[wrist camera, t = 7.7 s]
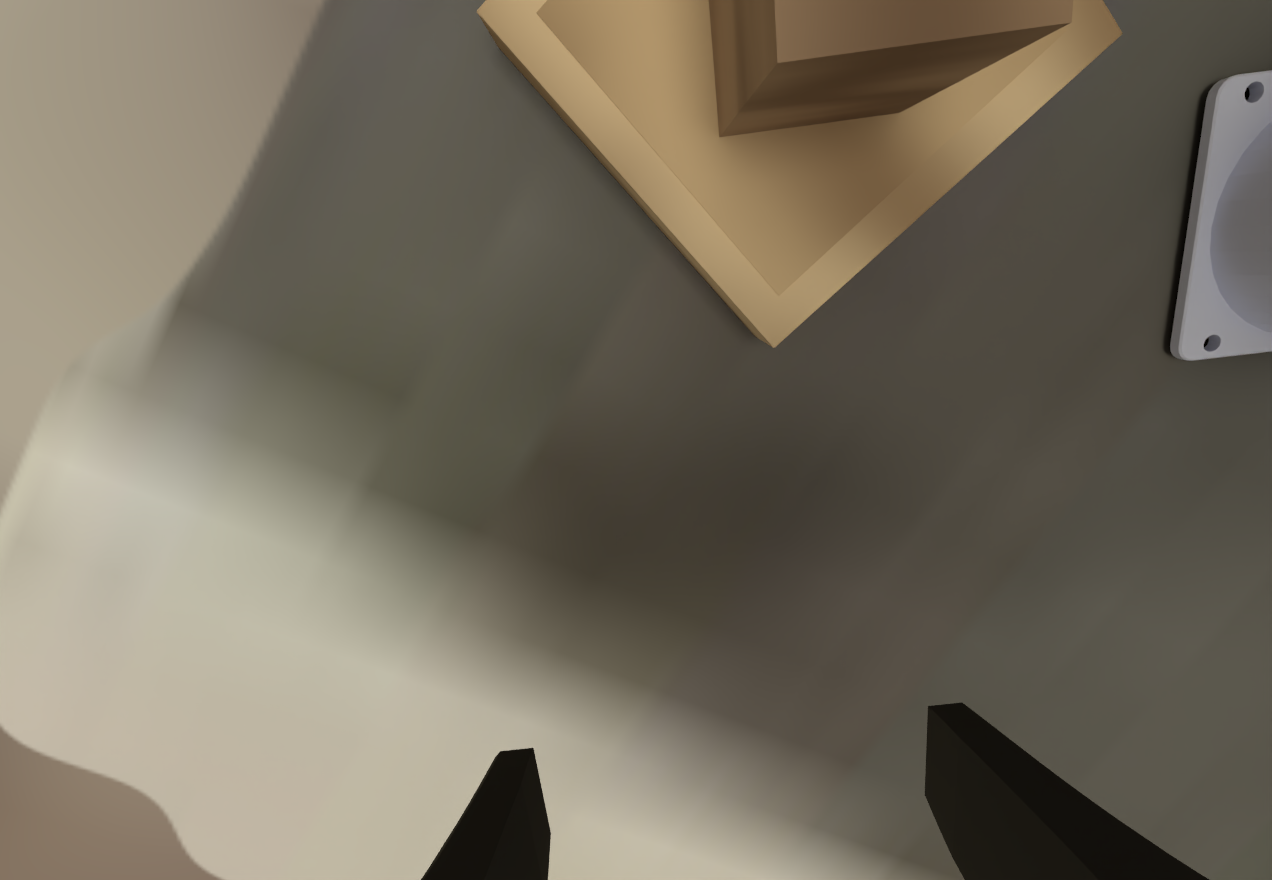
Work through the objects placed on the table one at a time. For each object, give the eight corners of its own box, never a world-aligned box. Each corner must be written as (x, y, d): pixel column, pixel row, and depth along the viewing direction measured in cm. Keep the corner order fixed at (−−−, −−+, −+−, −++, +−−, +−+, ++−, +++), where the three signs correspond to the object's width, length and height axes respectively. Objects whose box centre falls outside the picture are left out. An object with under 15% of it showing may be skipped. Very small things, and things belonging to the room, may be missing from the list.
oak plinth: (808, -313, 14) (845, -430, 12) (1052, 64, 17) (1124, 32, 14) (498, 47, 17) (476, 10, 14) (755, 336, 19) (774, 348, 17)
